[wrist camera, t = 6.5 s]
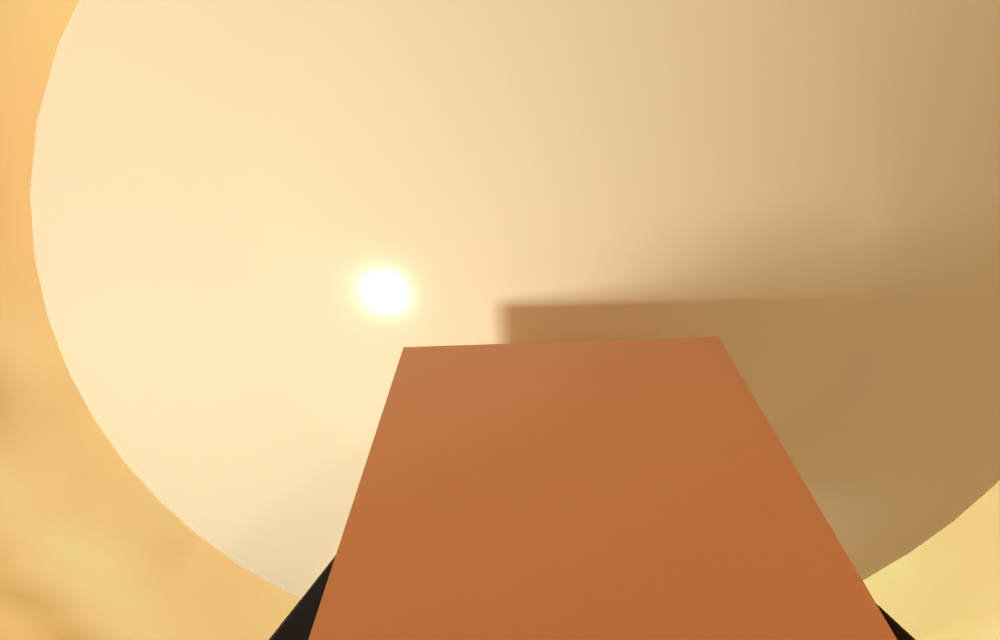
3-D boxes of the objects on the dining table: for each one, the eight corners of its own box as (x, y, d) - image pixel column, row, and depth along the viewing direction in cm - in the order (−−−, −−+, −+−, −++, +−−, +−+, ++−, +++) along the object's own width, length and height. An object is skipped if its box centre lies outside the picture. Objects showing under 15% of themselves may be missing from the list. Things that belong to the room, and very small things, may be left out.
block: (680, 537, 11) (784, 888, 7) (440, 540, 11) (393, 878, 7) (718, 336, 8) (934, 702, 4) (403, 347, 8) (288, 697, 4)
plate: (873, 615, 16) (897, 656, 15) (258, 617, 18) (241, 655, 17) (1424, -352, 6) (1610, -424, 5) (-189, -190, 7) (-307, -221, 6)
